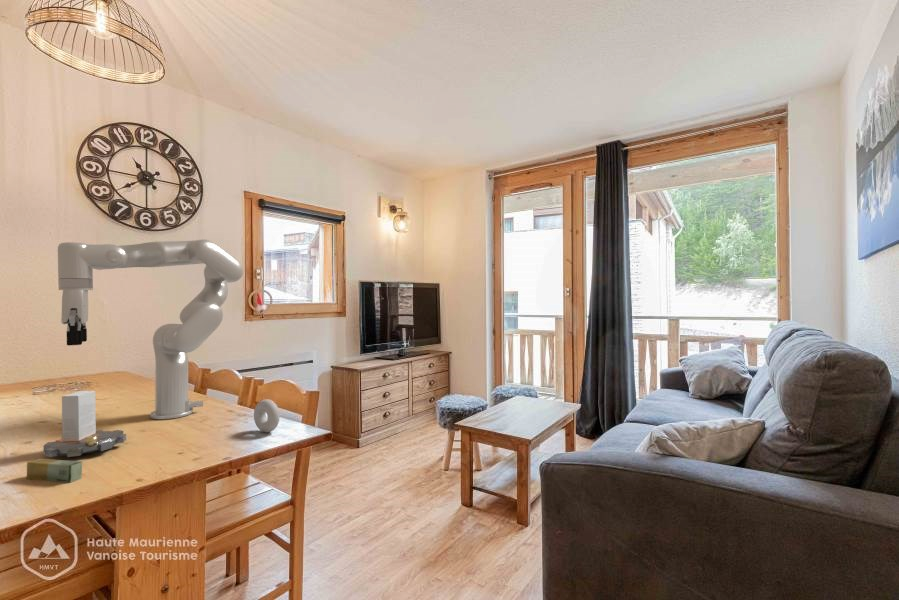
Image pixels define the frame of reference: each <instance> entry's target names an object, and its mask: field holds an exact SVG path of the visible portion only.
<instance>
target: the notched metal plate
mask: <svg viewBox="0 0 899 600" xmlns="http://www.w3.org/2000/svg"><path fill="white" fill-rule="evenodd" d="M125 441H127V433H124V430H120V429H116V430H103V429H98V430H97V429H96V433H95V434H93V435H91V436H88V437H85V438H84V439H82V440H80V441H62V438H60V439H56V440H55V441H48V442H46V443H45V444H44V445H43V446H42V447H43V448H42V449H43V452H44V456H45V457H49V458H53V457H56V456H66V457H67V458H70V457H79V456H82V455H84V454H83V453H86V454H90V453H89V452H91V453H95V452H103V451H106V450H110V449H113V446H115V445H117V444H123V443H125Z"/></svg>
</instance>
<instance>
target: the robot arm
mask: <svg viewBox="0 0 899 600" xmlns="http://www.w3.org/2000/svg"><path fill="white" fill-rule="evenodd" d="M200 264H201V265H202V264H203V265H205V266H204V269H203V276H204V287H203V289H201V291H200V292H199V293H198V294H197V295H196V296H195V297H194V298H193V299H192V300H191V301H189V302H188V304H186V305H185V306H184V308H182V310H181V311H180V314H179V320H180V322H181V323H166V324H163V325H161V326H160V327H158V328H157V329H156V330H155V332H154V334H153V337H152V345H153V350H154V351H153V352H154V360H155V371H154V373H155V374H154V375H155V378H154V379H155V380H154V382H155V383H154V384H155V385H154V387H155V389H154V390H155V391H154V392H155V393H154V395H155V397H154V398H155V399H154V400H155V404H154V405H155V406H154V409H155V410H154V411H151V412H150V413H149V418H150V419H152V420H171V419H177V418H182V417H187V416H189V415H191V414H192V413H193V412H194V408H201V407H204V401H203V400H201V401H199V400H194V401H192V400H190V398H189V357H188V353H192V352H193V351H195V350H198V348H200V346H201V345H203V343H204V342H206V341H207V339H208V338H210V336H211V335H212V334H213V333H214V332H215V330H217V328H219V326H220V325H221V323H222V320H223V318H224V313H223V309H222V308H221V306H222V305H223V304H224V303H225V302H226V300H227V297H228V283H235V282H236V283H237V282H238V281H239V280H241V279H242V277H243V274H244V268H243V266H242V265H241V263H240V262H239V261H238V260H237V259H236V258H235V257H233V256H231V254H229V253H228V252H227V251H225V250H224V249H223V248H221V247H220V246H218V245H217V244H216V243H214V242H213V241H211V240H209V239H196V240H173V241H171V240H170V241H167V240H166V241H150V242H143V243H134V244H127V245H126V244H124V245H122V244H121V245H116V244H111V243H108V244H106V243H105V244H88V243H84V242H83V243H82V242H69V241H67V242H65V241H64V242H60V243H59V244H58V246H57V271H58V272H57V275H58V277H57V279H58V290H59V291H62V296H61V320H60V321H61V324H62V325H67V326H66V346H69V347H70V346H81V345H82V344H83V342H87V341H88V330H87V324H86V323H88V320H89V291H93V290H94V279H93V278H94V275H93V273H94V272H93V271H94V270H98V271H99V270H102V271H103V270H113V269H114V270H115V269H126V268H128V269H129V268H160V267H163V268H164V267H174V266H175V267H176V266H187V265H200ZM93 269H94V270H93Z"/></svg>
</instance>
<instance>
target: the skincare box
mask: <svg viewBox="0 0 899 600" xmlns="http://www.w3.org/2000/svg"><path fill="white" fill-rule="evenodd" d="M96 405H97V404H96V391H95V390H79V391H76V392H72V393H68V394H66V395H62V396H61V418H62V419H61V422H62V423H61V424H62V425H61V428H62V430H61V431H62V433H61V434H62V436H61V439H62V441H80V440H82V439H84V438H85V437H88V436H91V435H93V434H95V433H96V431H97V425H96V423H97V420H96V417H97V415H96V413H97V411H96V407H97V406H96Z"/></svg>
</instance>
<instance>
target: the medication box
mask: <svg viewBox="0 0 899 600" xmlns="http://www.w3.org/2000/svg"><path fill="white" fill-rule="evenodd" d="M82 471H83V461H81V460H79V461H78V460H66V459H65V460H62V459H50V458H49V459H48V458H37V459H34V460H31V461H27V462H26V480H34V481H47V482H56V483H66V484H70V483H74V482H76V481H78V480H81V479H82V474H83V473H82Z"/></svg>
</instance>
